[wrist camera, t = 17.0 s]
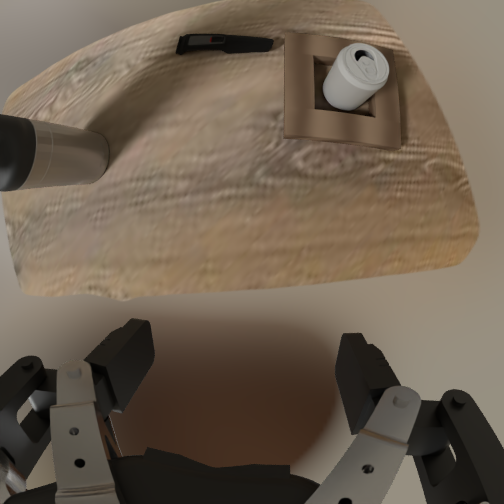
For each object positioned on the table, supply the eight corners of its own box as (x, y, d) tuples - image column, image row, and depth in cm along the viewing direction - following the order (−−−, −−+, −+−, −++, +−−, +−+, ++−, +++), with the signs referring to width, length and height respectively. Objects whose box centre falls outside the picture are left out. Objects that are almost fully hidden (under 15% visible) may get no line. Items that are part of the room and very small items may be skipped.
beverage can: (354, 73, 33) (380, 39, 21) (367, 109, 34) (400, 85, 23) (316, 77, 34) (331, 41, 22) (329, 115, 35) (351, 88, 23)
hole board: (283, 138, 36) (284, 134, 34) (284, 41, 32) (285, 32, 29) (392, 151, 35) (401, 149, 33) (386, 57, 31) (392, 50, 29)
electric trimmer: (271, 59, 34) (272, 50, 31) (175, 56, 34) (169, 48, 31) (274, 41, 33) (275, 32, 30) (180, 39, 33) (175, 30, 30)
